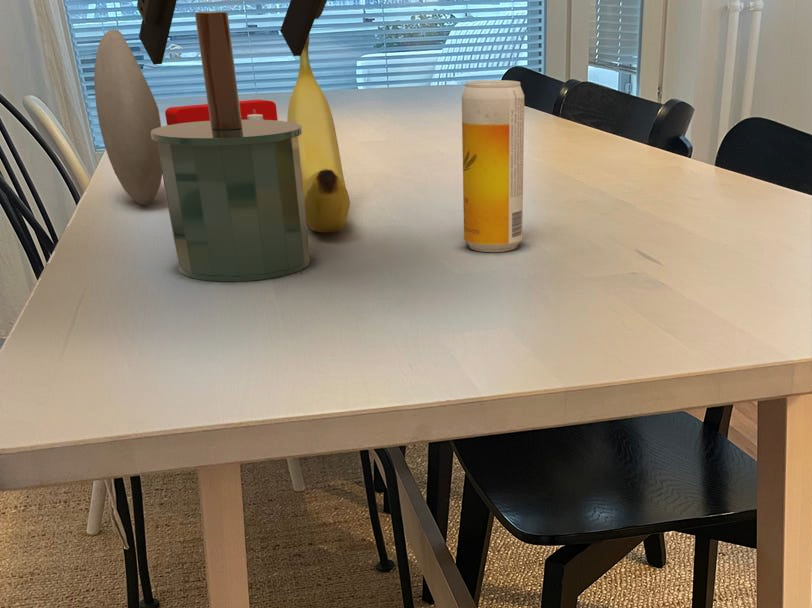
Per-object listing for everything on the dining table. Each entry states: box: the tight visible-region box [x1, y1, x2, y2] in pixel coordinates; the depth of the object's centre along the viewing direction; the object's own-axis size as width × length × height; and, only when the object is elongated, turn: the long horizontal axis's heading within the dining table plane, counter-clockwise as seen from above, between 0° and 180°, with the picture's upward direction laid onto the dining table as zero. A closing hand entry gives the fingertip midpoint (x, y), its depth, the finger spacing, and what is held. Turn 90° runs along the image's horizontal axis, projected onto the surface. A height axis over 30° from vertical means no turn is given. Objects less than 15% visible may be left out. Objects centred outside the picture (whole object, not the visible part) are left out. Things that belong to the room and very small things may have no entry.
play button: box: [164, 99, 279, 126], centre depth 132 cm, size 15×3×10 cm, turn 133°
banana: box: [286, 35, 351, 233], centre depth 107 cm, size 23×6×20 cm, turn 12°
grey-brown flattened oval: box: [93, 29, 163, 205], centre depth 120 cm, size 18×7×19 cm, turn 21°
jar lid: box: [151, 11, 302, 146], centre depth 88 cm, size 14×14×10 cm
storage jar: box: [157, 137, 311, 283], centre depth 94 cm, size 13×13×12 cm
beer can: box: [461, 79, 525, 253], centre depth 99 cm, size 6×6×15 cm
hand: (223, 47), depth 86 cm, fingers open, 13 cm apart
